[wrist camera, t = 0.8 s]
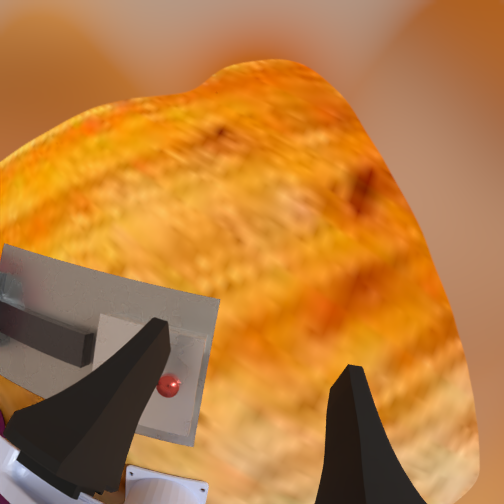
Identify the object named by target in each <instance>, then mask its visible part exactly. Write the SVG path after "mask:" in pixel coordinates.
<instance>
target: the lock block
mask: <svg viewBox="0 0 504 504" xmlns="http://www.w3.org/2000/svg"><path fill="white" fill-rule="evenodd" d="M148 322H149V321H147V320H144V319H140V318H136V317H132V316H128V315H125V314H121V313H100V319H99V325H98V331H97V338H96V345H95V352H94V360H93V369H92V371H94V370H95V369H96V368H98V367H99V366H100V365H101V364H103V363H104V362H105V361H106V360H108V359H109V358H110V357H111V356H112V355H114V354H115V353H116V352H117V351H118V350H119V349H120V348H122V347H123V346H124V345H125V344H126V343H127V342H128V341H129V340H130V339H131V338H132V337H133V336H135V335H136V334H137V333H138V332H139V331H140V330H141V329H142V328H143V327H144V326H145V325H146V324H147V323H148ZM169 335H170V345H171V352H170V355H169V358H168V361H167V363H166V366H165V369H164V371H163V374H162V376H161V378H160V380H159V382H158V384H157V385H156V387H155V389H154V391H153V393H152V395H151V397H150V399H149V401H148V403H147V405H146V407H145V409H144V411H143V413H142V415H141V418H140V420H139V422H138V425H142V426H146V427H149V428H153V429H157V430H161V431H165V432H169V433H174V434H178V435H183V436H187V437H188V436H189V432H190V427H191V422H192V418H193V412H194V406H195V397H196V391H197V385H198V379H199V374H200V368H201V363H202V357H203V354H204V349H205V344H206V339H207V334H204V333H199V332H194V331H190V330H185V329H181V328H176V327H172V326H169Z"/></svg>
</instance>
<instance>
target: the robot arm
mask: <svg viewBox="0 0 504 504" xmlns="http://www.w3.org/2000/svg"><path fill="white" fill-rule="evenodd" d="M170 352H171V345H170V335H169V325H168V321H165V320H162V319H159V318H156V317H153V318H152V319H151V320H150V321H149V322H148V323H147V324H146V325H145V326H144V327H143V328H142V329H141V330H140V331H139V332H138V333H137V334H136V335H135V336H133V337H132V338H131V339H130V340H129V341H128V342H127V343H126V344H125V345H124V346H123V347H122V348H120V349H119V350H118V351H117V352H116V353H115V354H114V355H112V356H111V357H110V358H109V359H108V360H106V361H105V362H104V363H103V364H101V365H100V366H99V367H98V368H96V369H95V370H94V371H92V372H91V373H90V374H88V375H87V376H85V377H84V378H82V379H81V380H79V381H78V382H76V383H75V384H73V385H71V386H70V387H68V388H66V389H65V390H63V391H61V392H59V393H57V394H55V395H53V396H51V397H49V398H47V399H45V400H43V401H41V402H39V403H36V404H34V405H31V406H29V407H26V408H23V409H21V410H18V411H15V413H14V414H13V415H12V417H11V418H10V420H9V422H8V424H7V426H6V428H5V430H4V432H3V436H4V437H5V438H6V439H7V440H8V441H7V440H6V439H5V438H3V437H2V436H1V435H0V494H1V495H2V496H3V497H4V498H5V499H6V500H7V501H8V502H9V503H10V504H106V503H104V502H102V501H100V500H98V499H96V498H94V497H93V496H94V494H95V492H96V493H98V494H100V495H102V494H103V492H104V490H106V491H109V492H115V491H118V489H119V484H120V480H121V476H122V472H123V468H124V465H125V461H126V458H127V454H128V451H129V448H130V445H131V442H132V439H133V436H134V433H135V431H136V428H137V425H138V422H139V420H140V418H141V415H142V413H143V411H144V409H145V407H146V405H147V403H148V401H149V399H150V397H151V395H152V393H153V391H154V389H155V387H156V385H157V384H158V382H159V380H160V378H161V376H162V374H163V371H164V369H165V366H166V363H167V361H168V358H169V355H170ZM9 441H10V442H11V443H12V444H11V443H10V442H9ZM130 472H132V473H133V474H130ZM201 489H205V490H201ZM207 492H208V483H207V482H204V481H198V480H193V479H187V478H182V477H177V476H173V475H168V474H164V473H160V472H156V471H152V470H148V469H144V468H141V467H137V466H134V465H128V466H127V468H126V493H125V501H124V504H205V503H206V497H207ZM315 504H427V503H426V502H425V501H424V500H423V498H422V497H421V496H420V494H419V493H418V492H417V490H416V489H415V487H414V486H413V484H412V483H411V481H410V479H409V478H408V476H407V475H406V473H405V471H404V470H403V468H402V466H401V464H400V463H399V461H398V459H397V457H396V455H395V453H394V451H393V449H392V447H391V444H390V442H389V440H388V438H387V435H386V433H385V430H384V428H383V425H382V423H381V420H380V418H379V415H378V412H377V409H376V407H375V404H374V401H373V398H372V395H371V392H370V389H369V386H368V382H367V379H366V376H365V373H364V370H363V368H362V367H361V366H355V365H349V364H348V365H347V367H346V368H345V369H344V371H343V372H342V374H341V375H340V376H339V378H338V379H337V380H336V382H335V383H334V384H333V386H332V387H331V388H330V393H329V399H328V406H327V416H326V437H325V455H324V464H323V470H322V475H321V480H320V485H319V489H318V493H317V497H316V501H315Z"/></svg>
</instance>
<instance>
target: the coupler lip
mask: <svg viewBox="0 0 504 504" xmlns="http://www.w3.org/2000/svg"><path fill="white" fill-rule="evenodd" d="M219 303H220V299H215V298H210V297H206V296H201V295H196V294H192V293H187V292H183V291H178V290H174V289H169V288H165V287H161V286H156V285H152V284H148V283H144V282H139V281H135V280H131V279H127V278H123V277H119V276H115V275H112V274H108V273H104V272H100V271H96V270H92V269H89V268H85V267H81V266H78V265H74V264H71V263H67V262H64V261H60V260H57V259H53V258H50V257H46V256H43V255H40V254H36V253H33V252H30V251H27V250H23V249H20V248H17V247H14V246H11V245H8V244H5V243H4V247H3V252H2V256H1V261H0V375H2V376H3V377H5V378H7V379H8V380H10V381H12V382H14V383H16V384H17V385H19V386H21V387H23V388H25V389H27V390H29V391H31V392H32V393H34V394H36V395H38V396H40V397H43V398H45V399H47V398H49V397H51V396H53V395H55V394H57V393H59V392H61V391H63V390H65V389H66V388H68V387H70V386H71V385H73V384H75V383H76V382H78V381H79V380H81V379H82V378H84V377H85V376H87V375H88V374H90V373H91V372H92V369H93V360H94V352H95V345H96V338H97V331H98V325H99V319H100V313H121V314H125V315H128V316H132V317H136V318H140V319H144V320H147V321H150V320H151V319H152V318H153V317H156V318H159V319H162V320H165V321H168V325H169V326H172V327H176V328H181V329H185V330H190V331H194V332H199V333H204V334H207V339H206V344H205V349H204V354H203V357H202V363H201V368H200V374H199V379H198V385H197V391H196V397H195V406H194V412H193V418H192V422H191V427H190V432H189V436H188V437H187V436H183V435H178V434H174V433H169V432H165V431H161V430H157V429H153V428H149V427H146V426H142V425H137V428H136V431H135V433H137V434H140V435H144V436H148V437H151V438H155V439H159V440H163V441H167V442H172V443H176V444H181V445H186V446H191V447H193V446H194V440H195V434H196V428H197V422H198V417H199V411H200V405H201V399H202V394H203V388H204V383H205V377H206V372H207V366H208V361H209V355H210V350H211V345H212V339H213V334H214V329H215V324H216V318H217V313H218V308H219Z"/></svg>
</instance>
